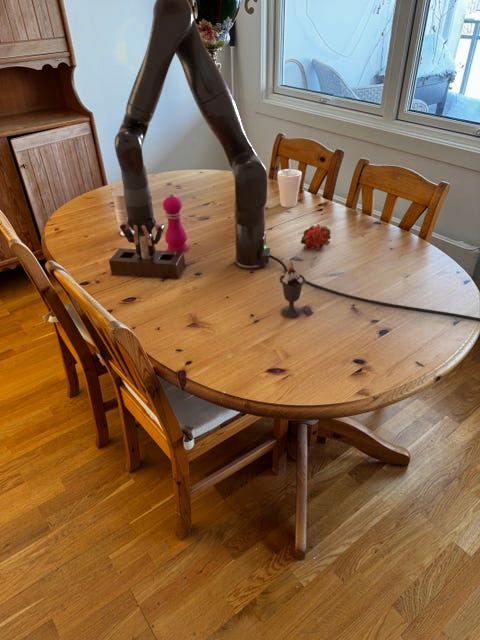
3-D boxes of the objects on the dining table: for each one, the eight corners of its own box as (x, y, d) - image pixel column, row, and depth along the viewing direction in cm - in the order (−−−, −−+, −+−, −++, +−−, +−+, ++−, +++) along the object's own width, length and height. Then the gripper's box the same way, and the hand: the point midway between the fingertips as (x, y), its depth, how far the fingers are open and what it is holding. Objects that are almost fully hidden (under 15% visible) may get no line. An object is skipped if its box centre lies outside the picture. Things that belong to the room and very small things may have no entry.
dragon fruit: (331, 248, 159) (303, 261, 156) (318, 228, 161) (290, 240, 158) (340, 235, 151) (311, 249, 148) (327, 214, 153) (297, 227, 150)
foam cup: (273, 202, 192) (274, 170, 185) (294, 199, 194) (295, 168, 187) (282, 210, 185) (283, 177, 177) (303, 207, 187) (305, 174, 180)
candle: (139, 234, 169) (133, 194, 160) (120, 237, 167) (113, 197, 158) (136, 227, 174) (129, 188, 166) (117, 230, 172) (110, 191, 164)
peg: (154, 261, 146) (149, 229, 140) (151, 266, 143) (146, 233, 137) (144, 261, 146) (139, 228, 140) (141, 266, 144) (135, 233, 137)
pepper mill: (184, 255, 154) (178, 196, 143) (163, 254, 155) (156, 195, 144) (190, 246, 160) (185, 189, 148) (170, 244, 161) (163, 188, 150)
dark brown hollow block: (185, 265, 148) (183, 251, 145) (177, 279, 141) (176, 264, 138) (122, 262, 151) (119, 248, 148) (111, 275, 144) (108, 260, 141)
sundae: (287, 302, 129) (289, 254, 120) (308, 310, 125) (311, 261, 116) (273, 313, 124) (274, 263, 116) (294, 322, 121) (297, 271, 112)
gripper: (110, 204, 131) (120, 259, 141) (157, 206, 129) (164, 262, 139) (120, 195, 137) (129, 248, 147) (165, 197, 135) (171, 250, 145)
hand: (146, 254), depth 143 cm, fingers closed on peg, 3 cm apart
